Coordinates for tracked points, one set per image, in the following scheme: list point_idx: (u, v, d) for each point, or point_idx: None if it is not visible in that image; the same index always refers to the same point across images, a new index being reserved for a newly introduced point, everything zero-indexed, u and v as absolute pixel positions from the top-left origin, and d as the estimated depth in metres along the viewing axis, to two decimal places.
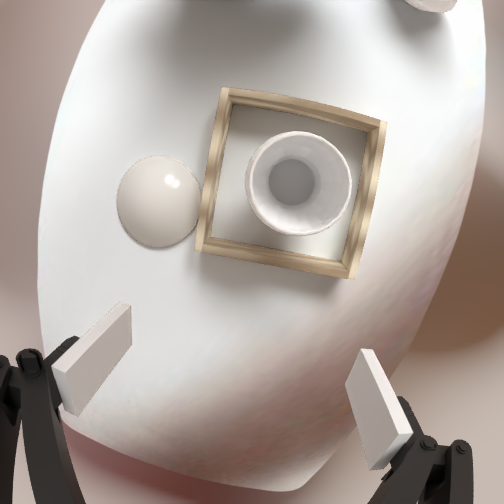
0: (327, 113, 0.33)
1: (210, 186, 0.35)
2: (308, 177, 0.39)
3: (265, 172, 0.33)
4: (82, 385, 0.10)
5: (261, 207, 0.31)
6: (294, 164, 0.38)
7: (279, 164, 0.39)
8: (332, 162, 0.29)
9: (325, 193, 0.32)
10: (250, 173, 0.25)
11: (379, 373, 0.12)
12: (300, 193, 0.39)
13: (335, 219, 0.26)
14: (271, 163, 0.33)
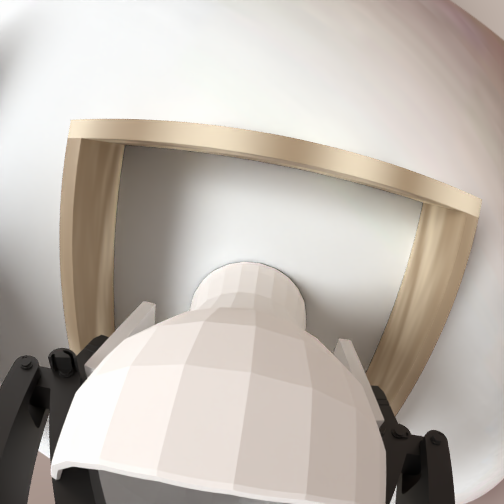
0: (77, 266, 0.14)
1: None
2: None
3: None
4: None
5: None
6: None
7: None
8: None
9: None
10: None
11: (355, 362, 0.13)
12: None
13: None
14: None
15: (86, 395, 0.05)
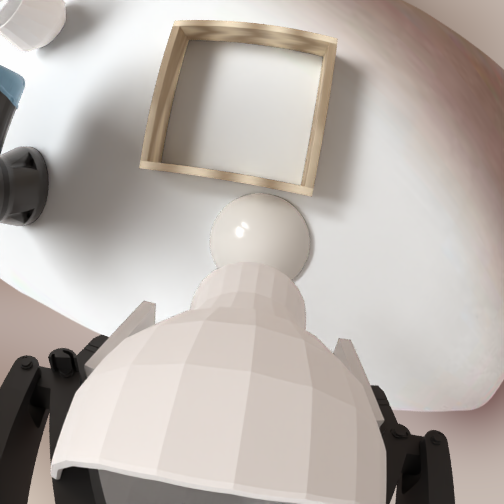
0: (168, 69, 0.30)
1: (241, 175, 0.33)
2: None
3: None
4: None
5: None
6: None
7: None
8: None
9: None
10: None
11: (355, 362, 0.13)
12: None
13: None
14: None
15: (86, 394, 0.05)
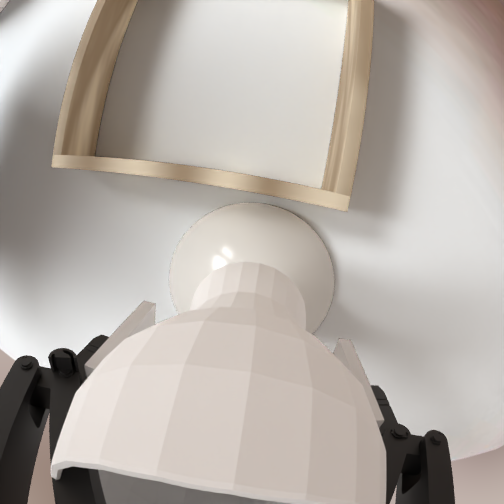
0: (104, 12, 0.14)
1: (212, 170, 0.17)
2: None
3: None
4: None
5: None
6: None
7: None
8: None
9: None
10: None
11: (355, 362, 0.13)
12: None
13: None
14: None
15: (86, 395, 0.05)
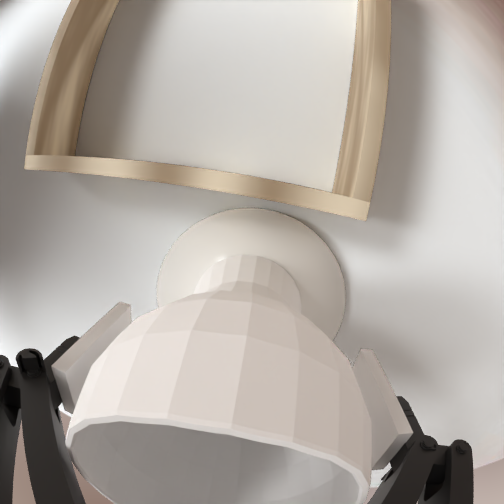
0: None
1: (201, 170, 0.14)
2: None
3: None
4: (82, 385, 0.10)
5: (286, 449, 0.12)
6: None
7: None
8: None
9: None
10: None
11: (379, 373, 0.12)
12: None
13: (337, 461, 0.05)
14: None
15: (103, 363, 0.07)
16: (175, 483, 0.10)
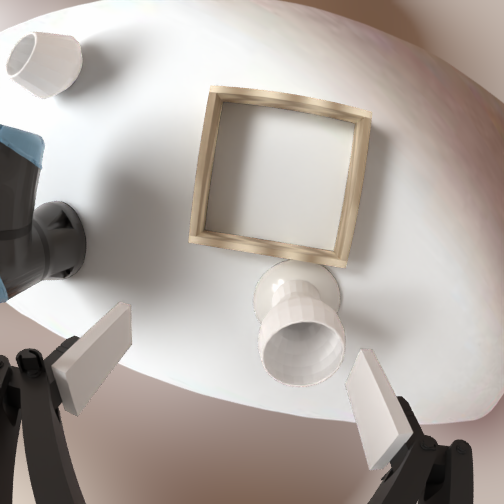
0: (208, 142, 0.36)
1: (285, 251, 0.38)
2: None
3: (290, 343, 0.39)
4: (82, 385, 0.10)
5: (319, 355, 0.36)
6: None
7: None
8: None
9: None
10: (294, 386, 0.31)
11: (379, 373, 0.12)
12: None
13: (334, 330, 0.29)
14: (282, 338, 0.39)
15: (277, 316, 0.31)
16: (280, 370, 0.34)
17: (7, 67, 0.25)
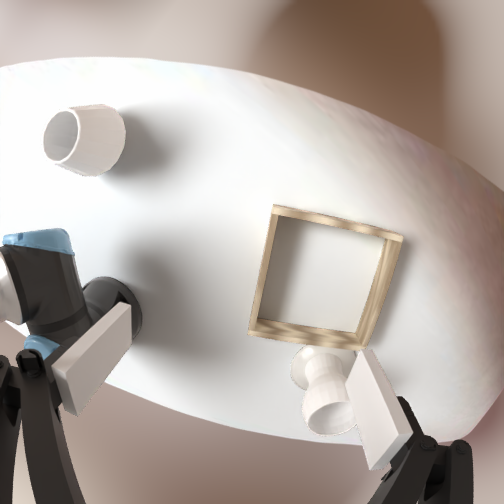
0: (269, 258, 0.45)
1: (322, 342, 0.48)
2: None
3: None
4: (82, 385, 0.10)
5: (341, 411, 0.46)
6: None
7: None
8: None
9: None
10: (325, 435, 0.41)
11: (379, 373, 0.12)
12: None
13: None
14: None
15: (320, 396, 0.40)
16: (315, 424, 0.43)
17: (44, 146, 0.33)
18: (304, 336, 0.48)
